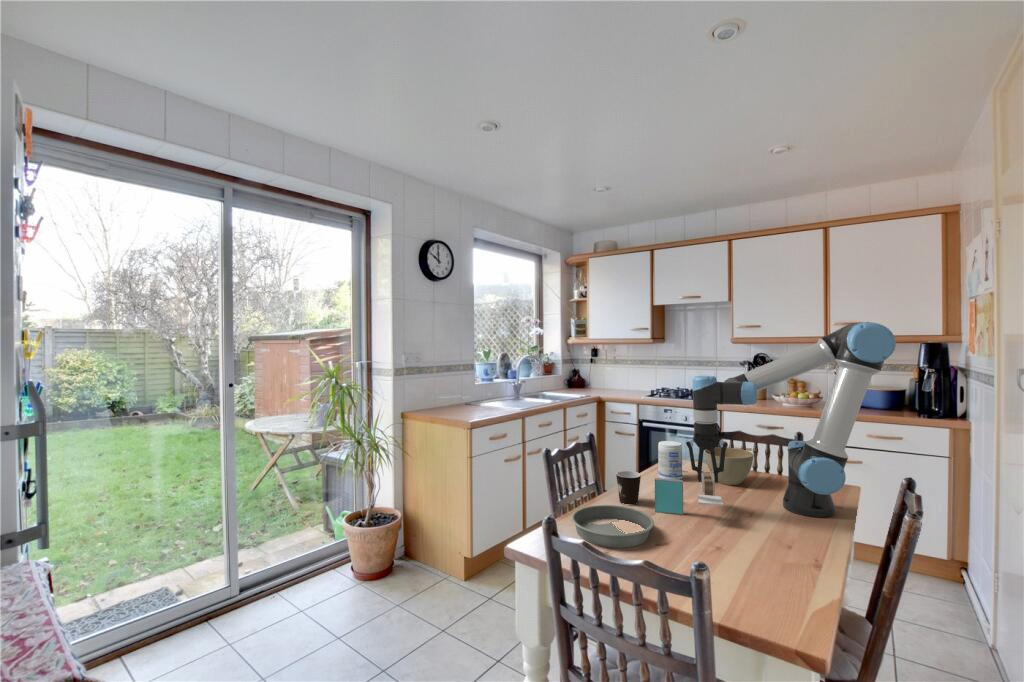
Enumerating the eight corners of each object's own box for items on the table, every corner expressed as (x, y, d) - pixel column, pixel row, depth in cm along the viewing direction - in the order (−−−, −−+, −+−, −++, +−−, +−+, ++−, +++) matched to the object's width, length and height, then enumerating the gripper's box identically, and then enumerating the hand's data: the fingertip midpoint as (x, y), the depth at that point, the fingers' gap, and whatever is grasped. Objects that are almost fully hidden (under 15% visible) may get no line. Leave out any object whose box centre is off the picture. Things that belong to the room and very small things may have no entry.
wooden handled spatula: (696, 485, 170) (695, 471, 170) (717, 486, 167) (716, 472, 167) (699, 504, 151) (698, 488, 151) (723, 506, 148) (722, 490, 148)
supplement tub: (672, 483, 193) (672, 446, 193) (653, 477, 201) (653, 442, 201) (687, 478, 199) (686, 443, 199) (667, 473, 207) (667, 439, 207)
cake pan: (669, 532, 145) (669, 517, 145) (624, 559, 128) (624, 542, 128) (602, 512, 163) (601, 498, 163) (554, 533, 146) (554, 518, 146)
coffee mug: (641, 506, 167) (641, 478, 167) (616, 505, 168) (616, 477, 168) (639, 496, 178) (639, 469, 178) (616, 494, 180) (615, 468, 180)
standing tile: (655, 510, 164) (654, 477, 163) (683, 512, 161) (682, 480, 161) (654, 512, 161) (654, 479, 161) (683, 515, 159) (682, 482, 159)
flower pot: (738, 475, 203) (738, 446, 203) (763, 488, 185) (762, 457, 185) (697, 476, 202) (696, 447, 202) (717, 489, 184) (717, 458, 184)
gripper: (729, 420, 162) (732, 489, 162) (680, 419, 167) (683, 487, 167) (732, 424, 155) (735, 496, 155) (681, 423, 160) (683, 493, 160)
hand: (708, 491), depth 161 cm, fingers closed on wooden handled spatula, 2 cm apart
